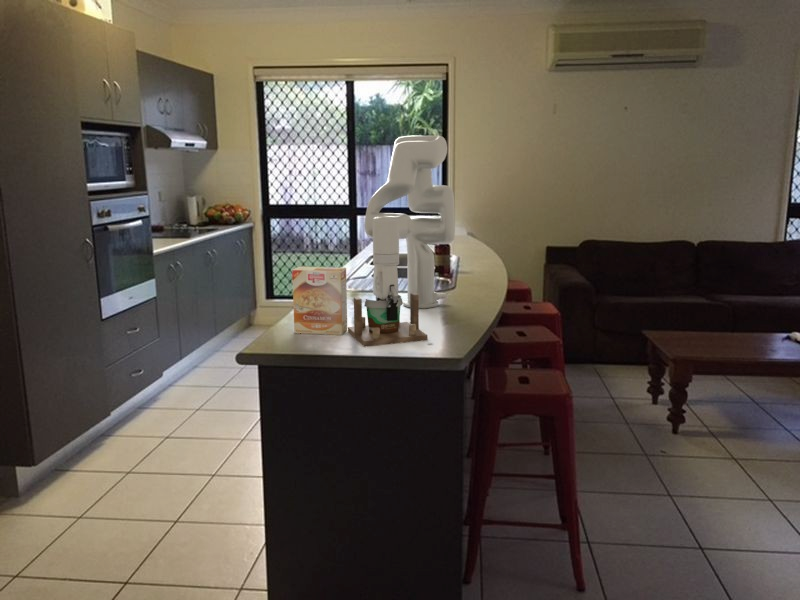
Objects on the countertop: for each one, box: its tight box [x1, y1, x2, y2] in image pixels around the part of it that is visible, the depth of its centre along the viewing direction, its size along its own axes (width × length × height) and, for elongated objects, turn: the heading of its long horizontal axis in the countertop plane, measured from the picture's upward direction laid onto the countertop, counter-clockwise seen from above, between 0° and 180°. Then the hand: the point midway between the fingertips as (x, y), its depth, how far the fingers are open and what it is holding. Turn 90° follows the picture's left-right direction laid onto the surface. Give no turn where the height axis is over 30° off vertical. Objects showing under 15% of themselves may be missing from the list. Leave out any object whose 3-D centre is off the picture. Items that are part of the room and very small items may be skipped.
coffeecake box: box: [291, 266, 348, 336], centre depth 199 cm, size 15×7×20 cm, turn 81°
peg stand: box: [347, 293, 428, 347], centre depth 195 cm, size 19×17×12 cm
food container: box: [364, 294, 404, 334], centre depth 194 cm, size 12×6×10 cm, turn 125°
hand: (386, 316), depth 195 cm, fingers open, 9 cm apart
